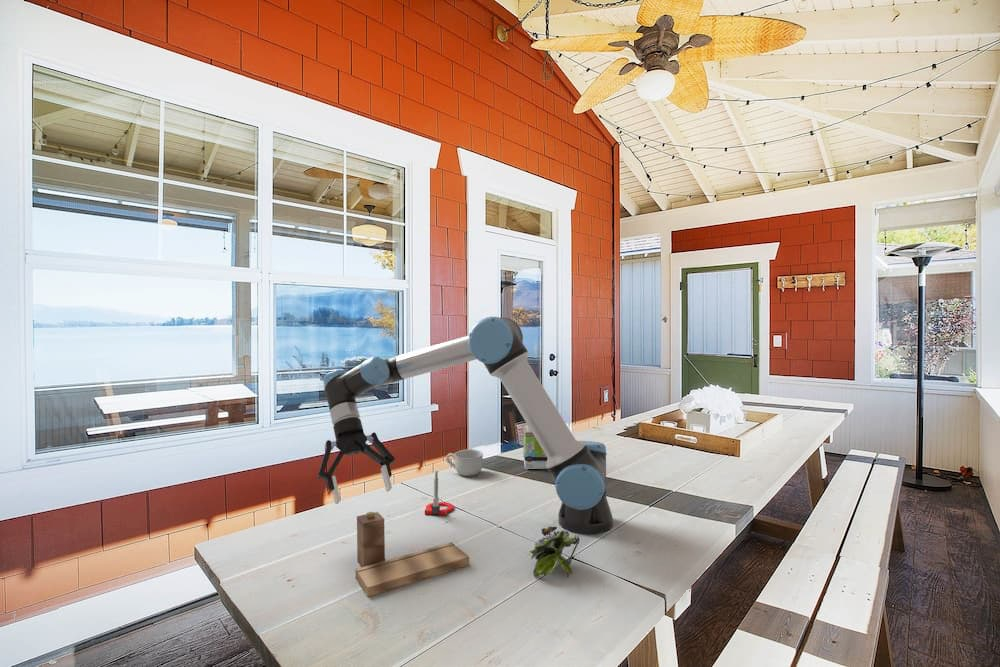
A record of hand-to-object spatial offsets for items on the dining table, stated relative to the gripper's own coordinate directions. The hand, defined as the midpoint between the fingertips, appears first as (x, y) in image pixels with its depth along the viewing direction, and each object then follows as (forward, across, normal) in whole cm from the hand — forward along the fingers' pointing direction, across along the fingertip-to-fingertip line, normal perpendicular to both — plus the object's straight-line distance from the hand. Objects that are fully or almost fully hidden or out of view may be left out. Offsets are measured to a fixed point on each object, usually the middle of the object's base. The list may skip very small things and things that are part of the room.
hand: (364, 495), depth 126 cm
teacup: (-9, -50, -36) cm, 62 cm away
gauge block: (+17, +3, +3) cm, 17 cm away
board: (+22, -4, +10) cm, 25 cm away
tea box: (-4, -79, -32) cm, 85 cm away
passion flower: (+34, -31, +25) cm, 52 cm away
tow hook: (+6, -26, -15) cm, 30 cm away
